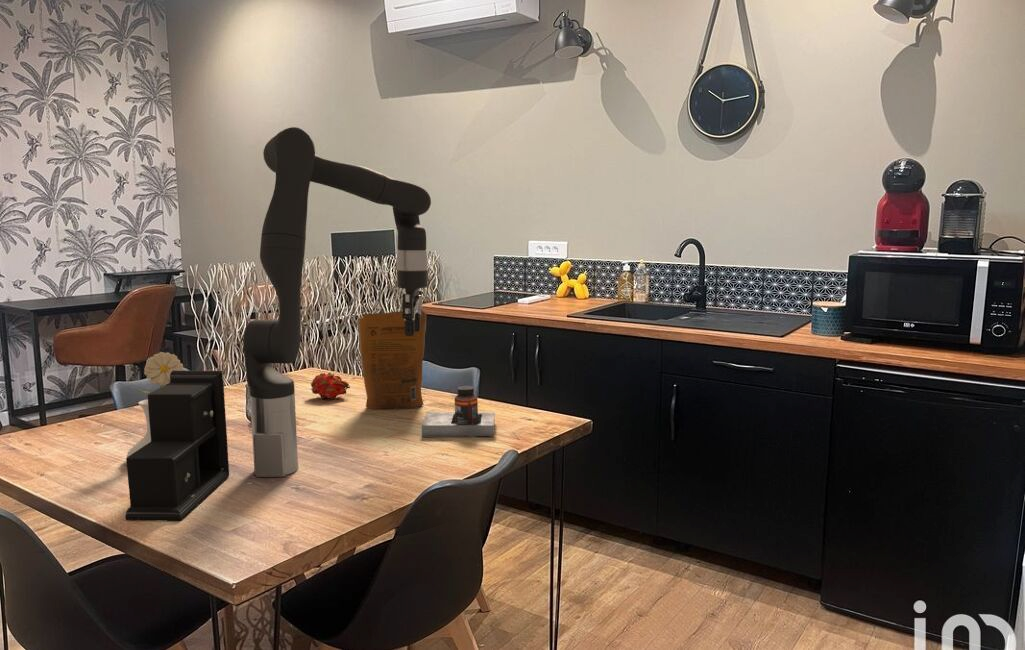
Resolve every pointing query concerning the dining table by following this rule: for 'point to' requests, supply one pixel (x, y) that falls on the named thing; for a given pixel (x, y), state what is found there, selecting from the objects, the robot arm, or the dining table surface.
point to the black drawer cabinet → (180, 448)
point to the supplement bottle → (466, 406)
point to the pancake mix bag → (391, 360)
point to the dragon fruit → (329, 386)
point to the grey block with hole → (456, 425)
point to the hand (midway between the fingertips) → (412, 333)
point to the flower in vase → (158, 374)
